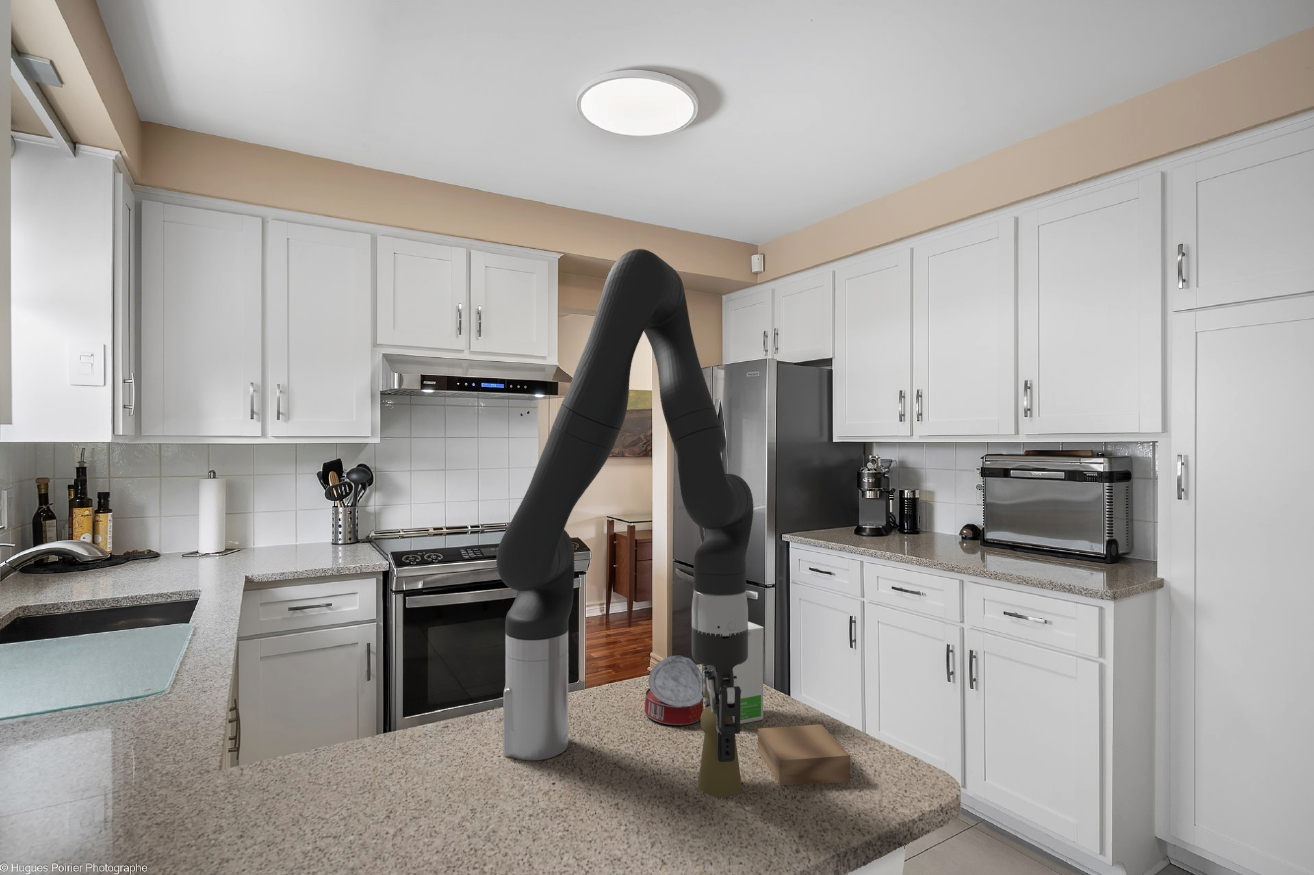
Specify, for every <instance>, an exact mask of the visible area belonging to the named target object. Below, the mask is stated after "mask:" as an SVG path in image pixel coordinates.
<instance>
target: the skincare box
mask: <svg viewBox="0 0 1314 875" xmlns="http://www.w3.org/2000/svg"><path fill="white" fill-rule="evenodd" d="M764 628H765V627H764V626H761V625H759V624H756V623H754V622H751V621H748V658H747V660H746V661H745V662H744V663H742V664H738V665H736V666H735V667H734V668H733V676H737V682H738V686H739V687H740V689H741V703H740V725H742V724H747V723H748V724H749V723H753V722H757V721H761V720H764ZM705 708H707V707H705V706H704V709H705Z"/></svg>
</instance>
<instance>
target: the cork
mask: <svg viewBox="0 0 1314 875" xmlns="http://www.w3.org/2000/svg"><path fill="white" fill-rule="evenodd" d="M717 705H718V706H719V704H717ZM730 722H731V719H730V716H728V717H726V718H725V723H730ZM700 726H701V727H700V728H701V730H702V731H703V732H704V735H703V736H704V737H703V741H702V748H701V749H702V751H701V758H700V765H699V766H700V767H699V774H698V782H697V787H698V789H699V790H700V791H701V792H702V793H704V794H705V795H707V794H708V795H707V796H711V797H715V798H720V797H724V798H726V797H727V798H731V797H730V796H733V797H735V795H736V796H737V794H738V795H739V794H740V793H741V792H742V790H743V785H742V778H741V770H740V762H739V753H738V746H737V739H736V736H735V759H734V760H733V761H731V762H720V761H719V760H718V758H717V730H716V718H715V715H714V714H713V713H712V712H711V706H708V707H707V708H705V707H704V708H703V712H702V714H701V719H700ZM724 798H723V799H724Z"/></svg>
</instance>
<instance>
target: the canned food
mask: <svg viewBox="0 0 1314 875" xmlns="http://www.w3.org/2000/svg"><path fill="white" fill-rule="evenodd" d="M647 682H648V686H649V688H648V689H647V690H646V691H645V697H644V701H645V702H644V714H645V716H646V717H647V718H649V719H651V720H652V721H655V722H657V723H660V724H665V725H670V726H671V725H673V726H685V725H692V724H695V723H697V722H699V721H701V714H702V712H703V710H704V700H705V697H704V698H703V695H702V671H700V669H699V666H698V665H697V664H696V663H695V662H694V661H693V660H692V659H691V658H689V657H685V656H683V655H680V654H679V655H670V656H667V657H665V658H663V659H662V660H660V661H658V662H657V663H656V664H655V666H654V667H653V668H652V669H651V670H650V673H649V675H648V680H647Z"/></svg>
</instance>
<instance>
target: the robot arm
mask: <svg viewBox="0 0 1314 875" xmlns="http://www.w3.org/2000/svg"><path fill="white" fill-rule="evenodd" d="M688 310H689V309H688V304H687V297H686V292H685V288H684V283H683V280H682V278H681V276H680V274H679V272H677V270H676V269H674V268H673V267H672V266H671V265H670V264H669V263H667V262H666V261H665V260H664V259H662V258H661V257H660V256H658V255H657V254H655V253H654V252H652V251H650V250H647V249H645V248H636V249H632V250H629V251H627V252H626V253H625V252H624V254H622V255H621V256H620V257H619V258H618V259H616V261H615V262H614V264H613V265H612V266H611V269H610V270H609V272H608V275H607V277H606V280H605V282H604V286H603V290H602V292H601V295H600V299H599V303H598V305H597V308H596V313H595V316H594V319H593V320H594V321H593V323H592V326H591V330H590V332H589V337H588V339H587V342H586V344H585V346H584V349H583V351H582V353H581V356H580V358H579V361H578V363H577V366H576V369H575V371H574V374H573V376H572V379H571V382H570V383H569V387H568V390H567V391H566V393H565V395H564V397H563V400H562V402H561V404H560V406H559V409H558V412H557V414H556V417H555V419H554V421H553V424H552V426H551V429H550V432H549V434H548V437H547V439H546V442H545V446H544V447H543V450H542V453H541V455H540V457H539V461H538V463H537V465H536V468H535V470H534V473H533V476H532V478H531V480H530V483H529V485H528V488H527V491H526V492H525V495H524V496H523V499H522V500H521V502H520V504H519V506H518V507H517V510H516V512H515V513H514V516H513V518H512V519H511V520H510V523H509V524H508V527H507V528H506V530H505V532H504V534H503V536H502V537H501V540H500V543H499V545H498V548H497V551H496V552H497V553H496V557H495V558H496V559H495V561H496V562H495V563H496V569H497V572H498V576H499V578H500V579H501V581H502V582H503V584H504V585H505V586H507V587H508V588H510V589H512V590H514V591H517V592H516V596H515V598H514V601H513V603H512V605H511V607H510V609H509V610H508V611H507V614H506V616H505V686H504V689H503V694H502V695H503V700H502V701H503V709H502V710H503V711H502V712H503V716H502V717H503V721H502V722H503V728H502V730H503V733H502V734H503V737H502V738H503V742H502V743H503V744H502V745H503V747H502V748H503V749H502V750H503V754H502V755H503V758H508V757H509V758H514V759H517V760H522V761H541V760H547V759H551V758H554V757H556V756H559V755H560V754H562V753H564V752H565V751H566V750H567V748H568V746H569V733H570V732H569V729H570V728H569V618H570V615H571V612H572V610H573V609H572V608H573V604H574V589H575V588H574V587H575V551H574V550H575V549H574V544H573V542H572V539H571V537H570V534H569V533H568V532H567V530H566V529H565V528H566V525H567V523H568V520H569V518H570V516H571V513H572V511H573V509H574V507H575V506H576V505H577V503H578V502H579V500H580V499H581V497H582V496H583V494H584V493H585V492H586V491H587V489H588V488H589V486H590V485H591V484H592V482H593V481H594V479H595V478H596V477H597V476H598V475H599V473H600V472H601V470H602V469H603V467H604V465H605V463H606V462H607V461H608V459H609V457H610V455H611V453H612V450H613V449H614V446H615V444H616V442H617V440H618V437H619V434H620V431H621V429H622V427H623V424H624V421H625V419H626V414H627V411H628V403H629V396H630V381H631V378H630V377H631V369H632V364H633V360H634V355H635V353H636V351H637V347H638V345H639V342H640V340H641V338H642V335H643V334H645V336H646V338H647V340H648V342H649V344H650V346H651V350H652V352H653V355H654V358H655V362H656V367H657V368H656V369H657V375H658V386H659V398H660V405H661V409H662V414H663V417H664V420H665V424H666V427H667V430H668V433H669V435H670V436H669V437H670V439H671V442H672V444H673V447H674V450H675V452H676V456H677V472H678V480H679V486H680V487H679V488H680V495H681V499H682V502H683V506H684V508H685V511H686V513H687V515H688V516H689V518H690V519H691V520H692V522H694V523H695V524H696V526H698V527H700V528H701V529H704V530H705V532H704V538H703V542H702V543H701V545H700V546H699V547H697V549H696V551H695V552H694V553H695V554H694V556H693V593H692V594H693V596H692V601H691V655H692V656H691V658H692V659H694V661H695V662H697V663H699V664H701V674H702V695H703V698H704V700H703V705H704V708H705V707H708V706H711V712H712V713H713V714H714V715H715V718H716V730H717V758H718V760H719V761H720V762H731V761H733V760H734V759H735V737H736V735H740V734H741V724H740V703H741V689H740V687H739V686H738V682H737V676H733V668H734V667H735V666H736V665H738V664H742V663H744V662H745V661H746V660H747V658H748V622H749V605H748V600H747V599H748V598H747V564H746V560H747V558H746V556H747V552H748V547H749V543H750V538H751V531H752V524H753V518H754V498H753V493H752V490H751V488H750V486H749V484H748V483H747V482H746V481H745V480H744V478H742V477H741V476H739V475H737V474H733V473H726V471H725V467H724V463H723V458H722V454H721V453H723V451H724V450H725V449H726V444H727V441H726V436H725V433H724V429H723V427H722V424H721V421H720V417H719V416H718V413H717V409H716V407H715V404H714V401H713V399H712V396H711V393H710V391H709V387H708V385H707V382H706V379H705V376H704V373H703V370H702V366H701V363H700V360H699V356H698V353H697V348H696V344H695V341H694V336H693V331H692V327H691V323H690V322H691V321H690V316H689V311H688ZM717 704H719V706H718V705H717ZM728 716H730V719H731V722H730V723H725V718H726V717H728Z"/></svg>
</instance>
